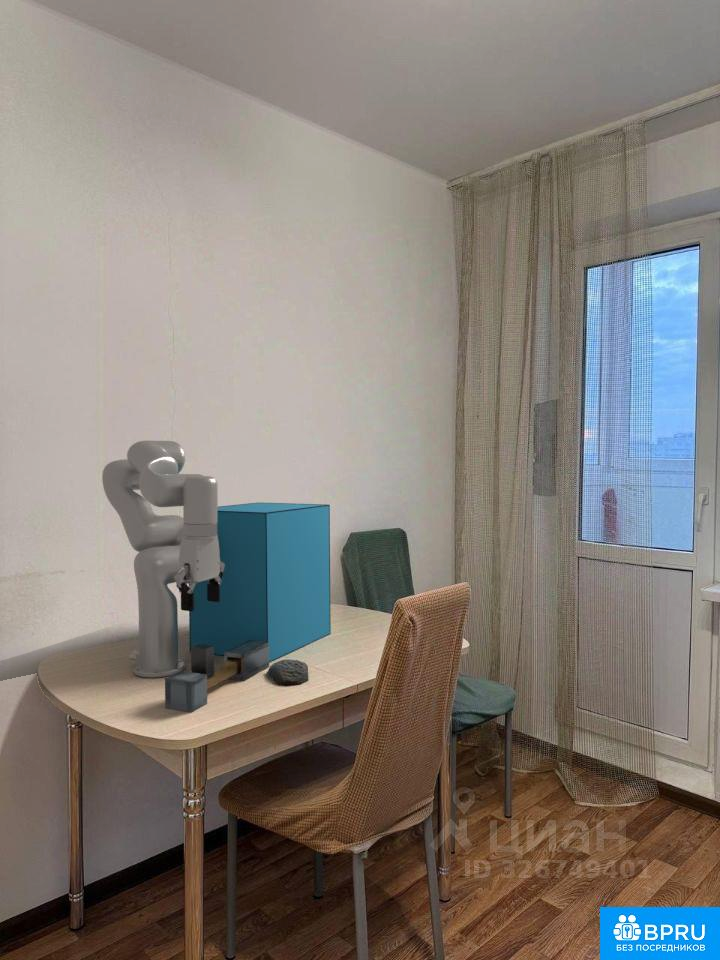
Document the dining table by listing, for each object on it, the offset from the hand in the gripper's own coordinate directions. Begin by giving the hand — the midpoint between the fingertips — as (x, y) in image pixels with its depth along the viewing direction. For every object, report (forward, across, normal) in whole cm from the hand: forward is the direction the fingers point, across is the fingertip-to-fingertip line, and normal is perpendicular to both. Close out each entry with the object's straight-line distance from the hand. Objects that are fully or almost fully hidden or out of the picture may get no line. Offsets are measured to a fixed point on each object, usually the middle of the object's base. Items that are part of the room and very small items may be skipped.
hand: (200, 605), depth 152 cm
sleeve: (+21, -18, +1) cm, 28 cm away
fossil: (+21, -19, +12) cm, 31 cm away
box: (+22, -44, -10) cm, 50 cm away
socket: (+21, +6, +1) cm, 22 cm away
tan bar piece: (+19, -4, +1) cm, 19 cm away
